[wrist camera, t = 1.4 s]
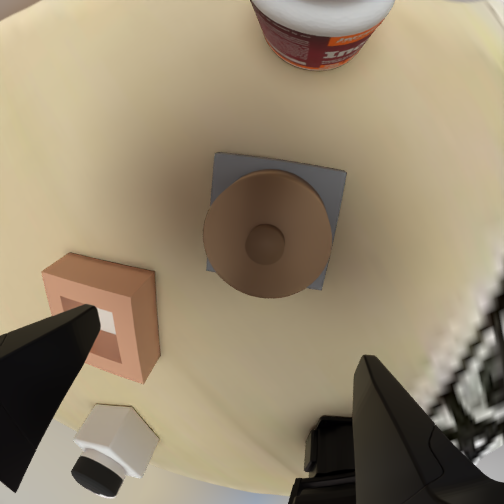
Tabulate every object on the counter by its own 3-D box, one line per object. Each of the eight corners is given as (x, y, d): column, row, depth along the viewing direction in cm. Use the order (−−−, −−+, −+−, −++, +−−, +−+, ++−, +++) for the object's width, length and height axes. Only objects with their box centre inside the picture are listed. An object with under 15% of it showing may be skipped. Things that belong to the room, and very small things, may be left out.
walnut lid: (337, 179, 17) (345, 191, 14) (316, 282, 20) (317, 314, 17) (221, 162, 18) (202, 170, 15) (213, 265, 21) (196, 293, 17)
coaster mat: (344, 170, 18) (346, 172, 17) (320, 283, 21) (321, 290, 20) (219, 152, 19) (214, 153, 18) (210, 264, 22) (206, 270, 21)
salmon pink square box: (154, 271, 23) (130, 297, 19) (160, 355, 27) (143, 384, 23) (69, 252, 24) (41, 271, 20) (84, 330, 28) (63, 353, 24)
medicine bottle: (95, 402, 33) (54, 466, 22) (132, 405, 32) (90, 481, 21) (123, 434, 36) (90, 495, 25) (160, 438, 34) (129, 509, 23)
